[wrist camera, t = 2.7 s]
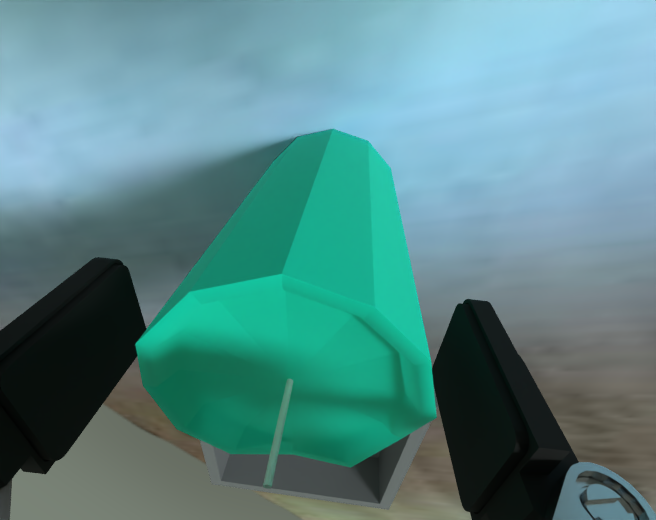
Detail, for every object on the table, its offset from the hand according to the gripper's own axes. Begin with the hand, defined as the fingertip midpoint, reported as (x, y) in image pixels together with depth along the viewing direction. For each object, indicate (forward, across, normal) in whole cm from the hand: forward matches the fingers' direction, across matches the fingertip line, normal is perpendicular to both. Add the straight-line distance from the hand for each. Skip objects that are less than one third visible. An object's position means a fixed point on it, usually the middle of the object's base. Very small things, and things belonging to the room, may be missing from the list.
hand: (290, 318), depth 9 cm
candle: (+8, -1, -1) cm, 8 cm away
